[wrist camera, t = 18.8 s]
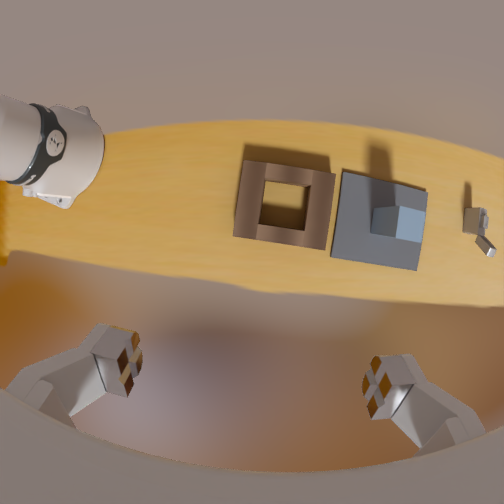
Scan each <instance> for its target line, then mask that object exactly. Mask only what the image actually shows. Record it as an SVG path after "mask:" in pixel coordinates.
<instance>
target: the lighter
mask: <svg viewBox="0 0 504 504" xmlns="http://www.w3.org/2000/svg"><path fill="white" fill-rule="evenodd" d="M488 219H489V217H487V210H486V209H484V208H465V214H464V224H463V233H467V234H473V235H478V236H477V238H476V241H475V243H476V244H477V245H478V246H479V247H480V248H481V250H482V251H483V252H484V253H485V254H486V255H487V256H489V257H494V255H495V252H496V250H497V249H496V248H495V247H494V246H493V245H492V243H491V242H490V241H489V240H488V239H487V238H486V237H485V236H484V235H485V228H486V229H487V228H488Z"/></svg>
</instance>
